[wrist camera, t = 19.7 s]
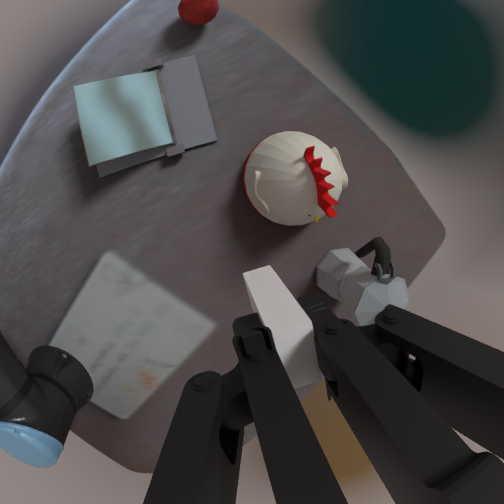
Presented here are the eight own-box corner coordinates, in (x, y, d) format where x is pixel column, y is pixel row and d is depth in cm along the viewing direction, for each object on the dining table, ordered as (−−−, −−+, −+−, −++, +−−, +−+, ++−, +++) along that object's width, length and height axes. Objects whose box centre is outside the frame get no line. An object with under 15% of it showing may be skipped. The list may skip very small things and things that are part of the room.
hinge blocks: (168, 157, 40) (167, 156, 39) (146, 65, 36) (145, 62, 35) (185, 152, 41) (184, 151, 39) (162, 60, 36) (161, 57, 35)
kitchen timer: (259, 236, 46) (286, 264, 32) (230, 148, 42) (244, 135, 28) (340, 207, 47) (394, 221, 33) (316, 123, 43) (365, 105, 29)
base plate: (100, 177, 40) (99, 177, 39) (82, 94, 36) (81, 93, 35) (217, 140, 42) (217, 140, 41) (194, 56, 38) (194, 54, 37)
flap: (178, 142, 39) (175, 144, 40) (159, 69, 36) (157, 71, 37) (90, 167, 33) (89, 168, 34) (73, 85, 29) (73, 87, 30)
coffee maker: (359, 301, 52) (418, 351, 35) (315, 310, 51) (363, 369, 34) (361, 219, 48) (432, 243, 31) (312, 224, 47) (372, 253, 30)
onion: (195, 0, 35) (195, -27, 27) (224, 15, 36) (229, -11, 29) (172, 23, 35) (168, -2, 28) (201, 38, 37) (202, 15, 29)
